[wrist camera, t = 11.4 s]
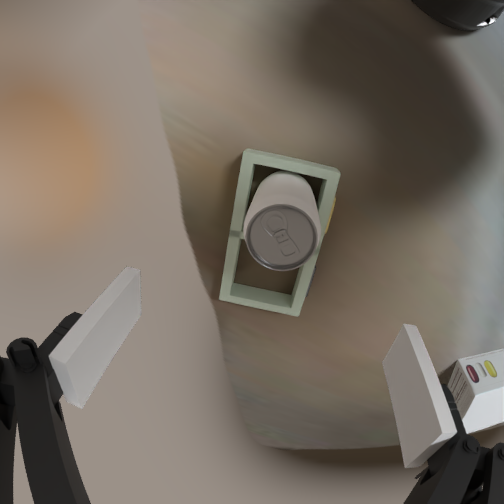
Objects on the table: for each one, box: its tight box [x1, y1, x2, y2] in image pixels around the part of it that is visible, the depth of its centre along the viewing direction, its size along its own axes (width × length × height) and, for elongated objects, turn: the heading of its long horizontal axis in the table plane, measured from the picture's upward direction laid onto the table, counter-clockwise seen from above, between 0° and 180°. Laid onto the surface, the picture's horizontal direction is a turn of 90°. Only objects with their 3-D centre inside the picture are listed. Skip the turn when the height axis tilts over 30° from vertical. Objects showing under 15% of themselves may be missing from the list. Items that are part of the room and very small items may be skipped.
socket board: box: [219, 148, 341, 317], centre depth 36 cm, size 10×18×3 cm, turn 169°
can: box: [243, 171, 321, 271], centre depth 30 cm, size 6×6×12 cm
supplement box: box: [447, 348, 504, 434], centre depth 40 cm, size 17×13×9 cm
